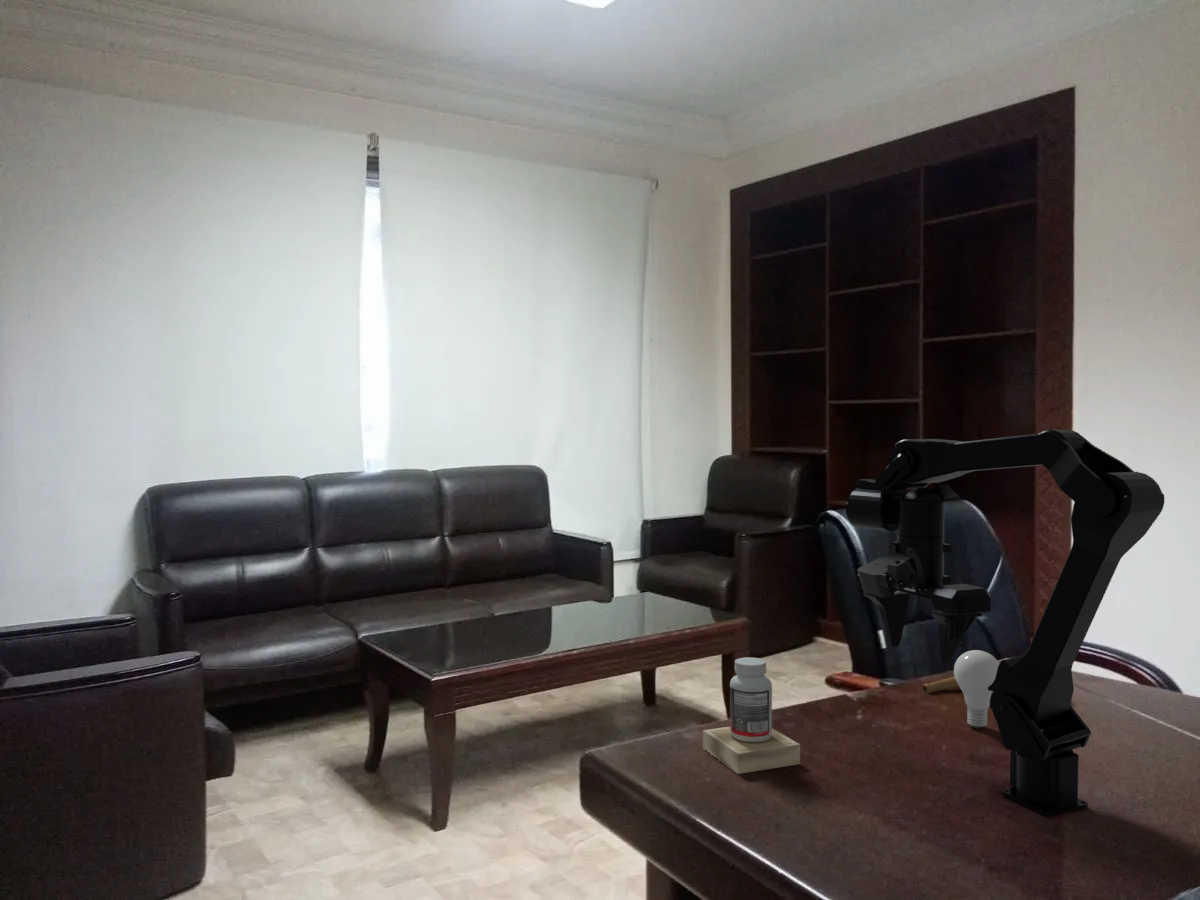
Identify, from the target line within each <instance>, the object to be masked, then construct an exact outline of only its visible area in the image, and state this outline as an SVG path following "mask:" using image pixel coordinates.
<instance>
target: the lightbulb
mask: <svg viewBox="0 0 1200 900" xmlns="http://www.w3.org/2000/svg"><path fill="white" fill-rule="evenodd" d="M999 664H1000V663H999V660H997V658H996V657H995V656H994V655H992V654H990V653H989V652H986V651H984V650H979V649H973V650H968V651H965V652H963V653H962V654H961V655H960V656H959V657H957V659H956V661H955V662H954V666H953V677H954V676H955V680H956V682H957V684H958V685H959V687H960V688H961V689H960V690H961V691H962V693H963V696H964V697H963V698H964V703H965V704H966V709H967V710H966V715H967V717H966V718H967V719H966V720H967V721H966V723H967V724H968V725H970V726H971V727H972V728H974V729H982V728H984V727H986V726H988V713H989V712H988V710H989V708H990V702H989V701H990V696H991V694H992V692H993V691H989V690H988V687H989V686H990V685H991V684H992V683H993V681H994V680H995V677H996V674H997V669H998V666H999Z"/></svg>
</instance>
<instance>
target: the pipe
mask: <svg viewBox="0 0 1200 900" xmlns="http://www.w3.org/2000/svg"><path fill="white" fill-rule="evenodd" d="M955 689H957V690H958V689H960V690H961V688H960V687H959V685H958V684H957V682H956V680H955V676H954V675H953V676H951V677H948V678H944V679H939V680H937V681H933V682H930V683H924V684H923V685H922V690H923V693H925V694H932V693H935V692H939V691H945V690H955Z"/></svg>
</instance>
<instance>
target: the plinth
mask: <svg viewBox="0 0 1200 900" xmlns="http://www.w3.org/2000/svg"><path fill="white" fill-rule="evenodd" d="M702 750H704V751H705V750H706V751H707V752H706V751H705V752H706V753H708V752H709V753H710V754H709V753H708V754H709V755H711V756H712V755H713V756H714V757H713V756H712V757H713V758H715V757H716V758H717V759H718V760H717V759H716V758H715V759H716V760H717V761H719V762H720V761H721V762H720V763H722V764H723V765H725V767H727V768H728V769H730V770H731V769H732V770H731V771H733V772H734V773H735V774H737V775H740V774H746V773H753V772H759V771H766V770H770V769H771V770H772V769H777V768H783V767H791V766H795V765H801V744H800V743H798V742H797V741H795V740H793V739H792V738H789V737H788V736H786V735H785V734H783V733H782V732H779V731H777V730H776V729H774V728H773V727H772V736H771V738H770V739H769V740H767V741H762V742H744V741H740V740H737V739H735V738H734V737H732V735H731V732H730V726H725V727H723V726H722V727H718V728H710V729H709V728H708V729H703V730H702Z"/></svg>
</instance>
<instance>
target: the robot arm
mask: <svg viewBox="0 0 1200 900" xmlns="http://www.w3.org/2000/svg"><path fill="white" fill-rule="evenodd" d="M889 457H890V458H889V459H888V460H887V462H886V464H885V465H884V467H883V469H882V470H881V472H880V473H879V475H878V477H877V478H876V479H872V478H871V479H868V478H865V479H863V478H862V479H857V481H856V488H855V489H854V490H852V492H851V493H850V495H849V496H848V498H847V499H848V500H847V502H846V504H845V513H846V516H847V517H846V518H847V520H848V522H849V523H850V524H851V525H852V526H854V527H856V528H858V529H859V528H860V529H867V530H877V531H884V532H895V531H897V534H896V535H897V537H896V538H897V541H890V543H889V545H888V549H887V550H888V551H887V555H884V556H880V557H879V558H876V559H874V560H872V561H870V562H867V563H866V564H864V565H862V566H861V567H858V568H857V577H856V589H858V590H862V591H863V592H862V594H863V596H864V597H867V598H868V599H869V600H870V601H872V603H873V604H874V605H876V607H877V608H878V609H877V610H878V611H879V614H880V616H881V619H882V623H883V626H884V628H885V631H886V635H887V638H888V641H889V644H890V646H891V647H892V648H896V647H899V646H900V645H901V641H902V638H903V632H904V628H905V622H906V618H907V614H908V608H909V603H910V599H911V595H914V596H916V597H917V596H918V597H920V598H921V597H922V598H926V599H929V600H930V603H931V604H932V606H933V608H934V609H935V610H930V611H929V613H930V614H931V616H932V617H933V618H934V619H935V622H937V630H938V631H937V633H938V654H939V662H940V664H941V665H948V664H949V663H951V660H952V659H953V657H954V655H955V653H956V651H957V649H958V648H959V645H960V644H961V643H962V640H963V639H964V637H965V635H966V633H967V632H968V631H969V628H971V626H972V624H973V623H974V622H975V620H976V618H979V617H982V616H983V614H984V613H986V612H988V613H989V612H991V609H992V608H991V607H992V606H991V605H992V603H991V602H992V600H991V599H992V597H991V596H992V595H991V593H990V592H989V591H988V590H987V589H986V587H980V586H977V585H973V584H968V583H957V584H955V583H954V584H951V583H952V578H951V577H952V576H951V575H946V574H944V572H945V569H944V567H945V554H944V553H952V544H951V543H945V504H947V503H948V504H949V503H950V504H951V503H959V502H960V501H961V497H960V495H958V494H957V493H956V492H955V491H953V489H951V487H950V486H949V484H948V483H945V482H946V481H949V480H953V479H955V478H959V477H961V476H964V475H966V474H969V473H974V472H975V471H977V472H978V471H990V470H999V469H1000V470H1002V469H1013V468H1014V469H1016V468H1025V467H1035V466H1036V467H1039V466H1043V467H1045V469H1047V470H1048V471H1049V474H1050V475H1051V477H1052V478H1053V480H1054V482H1055V483H1056V484H1057V487H1058V489H1060V490H1061V491H1062V492H1063V493H1064V494H1065V495H1066V496H1068V497H1069V498H1070V499H1071V500H1072V501H1073V502H1074V503H1073V507H1072V511H1071V514H1070V515H1071V516H1070V525H1071V535H1072V545H1071V548H1070V551H1069V552H1068V555H1067V558H1066V560H1065V562H1064V564H1063V567H1062V569H1061V571H1060V573H1059V576H1058V577H1057V580H1056V583H1055V585H1054V588H1053V590H1052V593H1051V595H1050V598H1049V599H1048V602H1047V604H1046V607H1045V609H1044V612H1043V614H1042V615H1041V618H1040V620H1039V623H1038V624H1037V628H1036V630H1035V632H1034V634H1033V637H1032V638H1031V642H1030V643H1029V646H1028V648H1027V651H1026V652H1025V654H1024V655H1019V656H1015V657H1011V658H1005V659H1002V660H1000V663H999V666H998V669H997V674H996V677H995V680H994V681H993V683H992V684H991V685H990V686H989V687H988V690H989V691H993V692H992V694H991V696H990V701H989V702H990V705H989V709H990V710H991V712H992V714H993V717H994V719H995V720H996V725H997V728H998V731H999V734H1000V738H1001V741H1002V743H1003V748H1004V749H1006V750H1009V751H1010V754H1009V755H1010V760H1009V761H1010V764H1009V785H1010V787H1008V788H1003V789H1001V795H1002V796H1005V797H1006V798H1009V799H1011V800H1012V801H1015V802H1017V803H1019V804H1021V805H1023V806H1025V807H1027V808H1029V809H1031V810H1033V811H1035V812H1037V813H1039V814H1041V815H1043V816H1045V817H1046V816H1047V817H1048V816H1049V817H1050V816H1055V815H1060V814H1064V813H1065V814H1066V813H1069V812H1074V811H1078V810H1083V809H1087V808H1089V803H1088V801H1086V800H1083V799H1081V798H1079V754H1077V753H1076V752H1074V750H1077V749H1078V748H1084V747H1086V746H1087V744H1088V741H1089V739H1090V737H1091V734H1092V731H1091V729H1090V728H1089V727H1088V726H1087V724H1086V723H1085V722H1084V720H1083V718H1081V717H1080V715H1079V714H1078V712H1077V711H1076V710H1075V709H1074V707H1073V706H1072V705H1071V703H1072V699H1073V694H1074V690H1075V688H1074V687H1075V686H1074V681H1073V672H1072V671H1073V670H1072V669H1073V665H1074V663H1075V661H1076V658H1077V656H1078V654H1079V652H1080V650H1081V647H1082V645H1083V643H1084V641H1085V639H1086V636H1087V634H1088V632H1089V629H1090V628H1091V625H1092V623H1093V621H1094V618H1095V616H1096V614H1097V611H1098V609H1099V608H1100V605H1101V603H1102V601H1103V598H1104V596H1105V594H1106V592H1107V590H1108V588H1109V585H1110V583H1111V581H1112V579H1113V577H1114V574H1115V572H1116V570H1117V567H1118V566H1119V563H1120V561H1121V560H1122V558H1123V556H1124V555H1126V554H1127V553H1128V552H1129V551H1130V550H1131V549H1132V548H1133V547H1135V545H1136V544H1137V543H1138V542H1140V540H1141V539H1142V538H1143V537H1145V535H1147V533H1148V531H1149V530H1150V528H1151V527H1152V526H1153V524H1154V523H1155V521H1156V520H1157V519H1158V517H1159V516H1160V514H1161V512H1162V511H1163V510H1164V505H1165V494H1164V493H1163V492H1162V489H1161V486H1160V485H1159V484H1158V482H1157V481H1155V478H1153V477H1151V476H1150V475H1149V474H1146V473H1143V472H1139V471H1134V470H1133V469H1132V468H1131V467H1129V466H1128V465H1127V464H1126V463H1124V462H1123V461H1122V460H1119V459H1118V458H1116V457H1115V456H1113V455H1111V454H1109V453H1107V452H1106V451H1104V450H1103V449H1100V448H1099V447H1097V446H1096V445H1094V444H1093V443H1091V442H1090V441H1089V440H1087V439H1086V437H1084V436H1083V435H1081V434H1080V433H1079V432H1077V431H1075V430H1071V429H1069V430H1068V429H1046V430H1043V431H1041V432H1037V433H1030V434H1021V435H1013V436H1003V437H1002V436H1001V437H995V438H993V437H992V438H987V439H979V440H977V439H976V440H969V441H968V440H967V441H960V440H954V439H953V440H951V439H940V438H920V439H919V438H913V439H912V438H907V439H906V438H904V439H902V440H899V441H898V442H896V443H895V445H894V448H892V452H891V455H890V456H889ZM943 482H944V483H943ZM932 483H934V485H933V487H930V488H928V486H930V484H932ZM907 490H909V491H908V492H907Z"/></svg>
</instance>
